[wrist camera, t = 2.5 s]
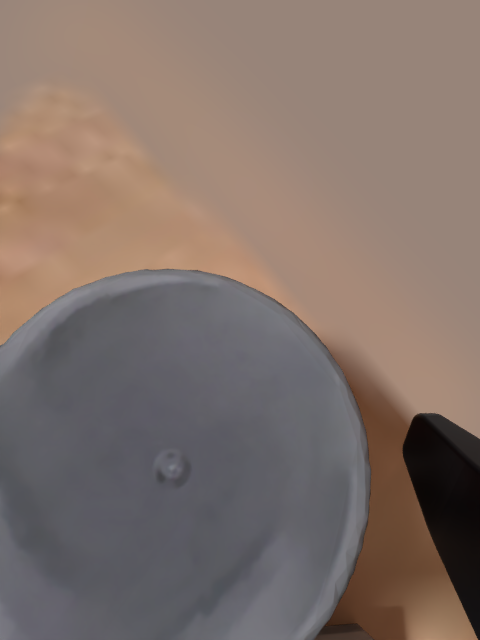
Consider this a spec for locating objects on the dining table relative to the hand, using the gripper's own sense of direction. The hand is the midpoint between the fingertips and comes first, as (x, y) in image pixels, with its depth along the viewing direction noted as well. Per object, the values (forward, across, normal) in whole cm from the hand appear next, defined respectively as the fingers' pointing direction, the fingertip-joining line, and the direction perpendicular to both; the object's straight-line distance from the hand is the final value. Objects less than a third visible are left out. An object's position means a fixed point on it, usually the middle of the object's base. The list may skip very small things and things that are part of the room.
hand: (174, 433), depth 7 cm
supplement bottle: (+5, 0, +6) cm, 8 cm away
